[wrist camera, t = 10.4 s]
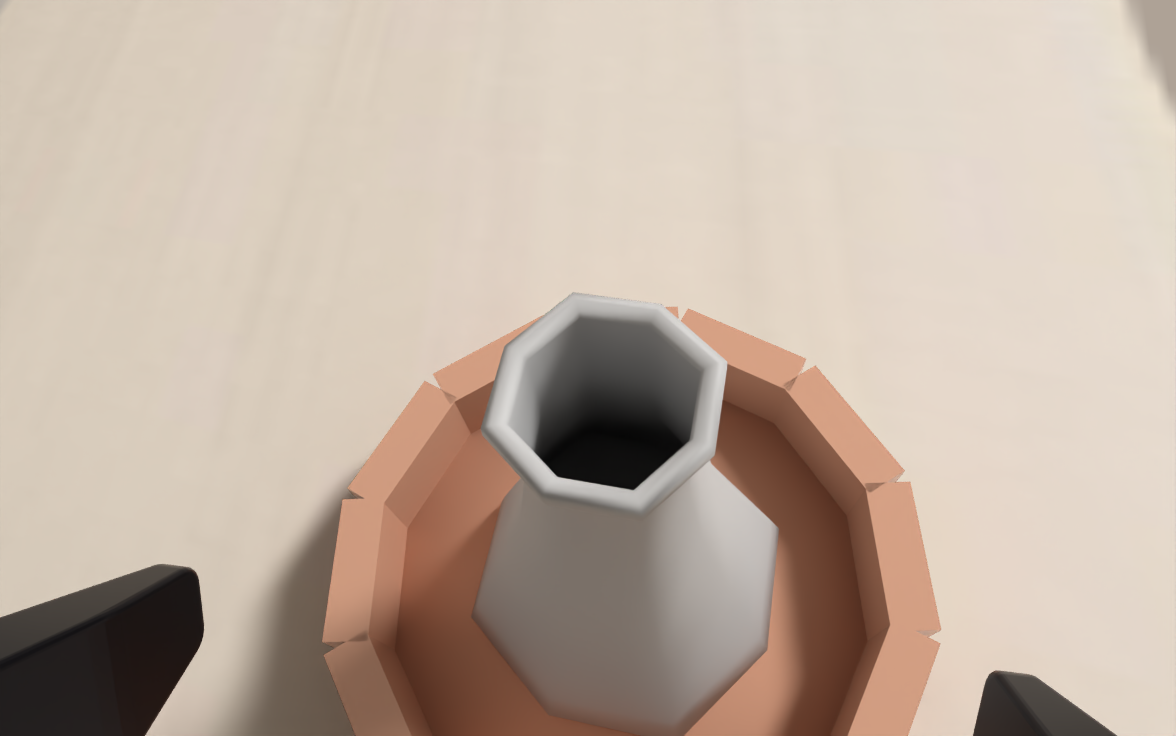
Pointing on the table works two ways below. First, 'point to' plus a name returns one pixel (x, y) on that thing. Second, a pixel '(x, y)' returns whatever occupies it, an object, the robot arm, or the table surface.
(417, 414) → the bowl
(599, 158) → the table surface
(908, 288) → the table surface
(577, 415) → the flask
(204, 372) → the table surface
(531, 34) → the table surface
